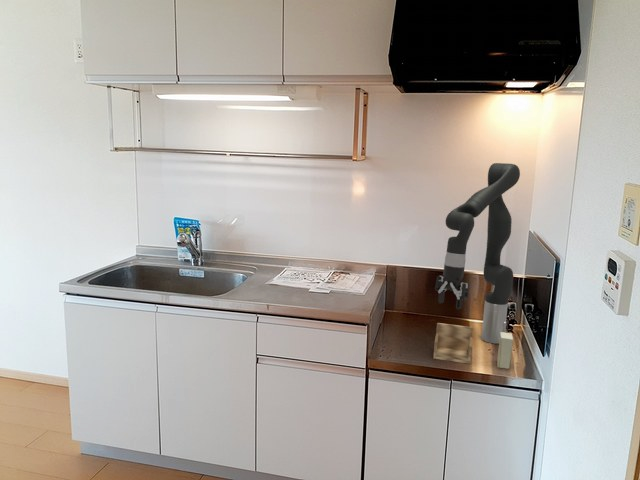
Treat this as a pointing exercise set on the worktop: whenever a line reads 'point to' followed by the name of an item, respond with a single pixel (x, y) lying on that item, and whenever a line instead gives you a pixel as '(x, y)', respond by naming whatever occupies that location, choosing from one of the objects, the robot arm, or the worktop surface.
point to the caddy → (453, 343)
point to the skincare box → (504, 350)
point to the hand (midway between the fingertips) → (449, 305)
